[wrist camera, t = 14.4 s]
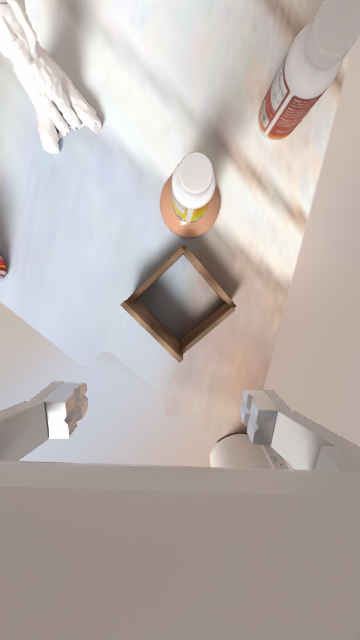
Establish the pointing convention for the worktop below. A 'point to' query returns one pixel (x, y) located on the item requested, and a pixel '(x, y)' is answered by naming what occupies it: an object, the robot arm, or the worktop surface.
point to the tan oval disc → (182, 227)
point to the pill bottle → (309, 67)
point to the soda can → (2, 268)
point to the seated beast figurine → (42, 79)
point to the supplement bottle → (192, 187)
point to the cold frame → (159, 329)
